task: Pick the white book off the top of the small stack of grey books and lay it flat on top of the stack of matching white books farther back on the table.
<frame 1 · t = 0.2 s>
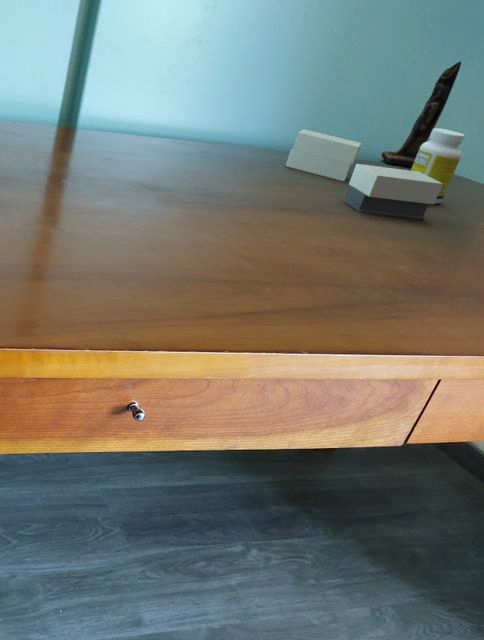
white stack: (316, 171, 127), on the table
pill bottle: (419, 199, 121), on the table
statue: (399, 165, 145), on the table
white book: (390, 194, 103), point 4 cm above the table, touching grey stack
grey stack: (379, 221, 105), on the table
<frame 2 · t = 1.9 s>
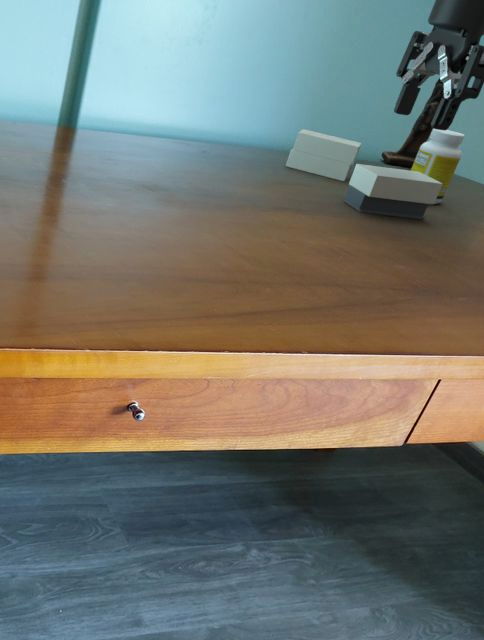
hand: (418, 121, 98), 14 cm above the table, tool pointing down, fingers open, 8 cm apart
nothing on the table moved.
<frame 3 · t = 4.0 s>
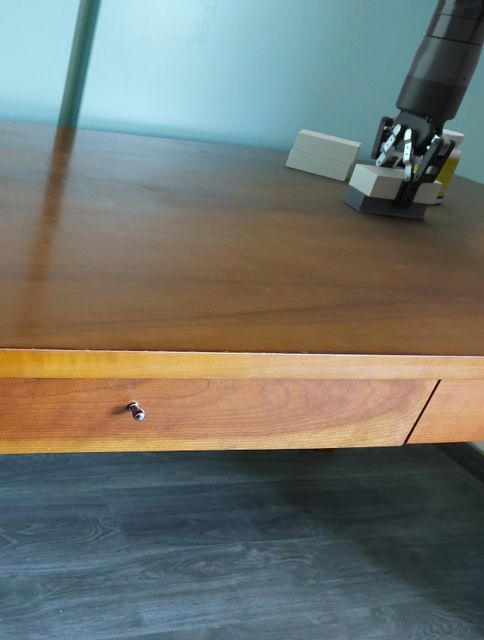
hand: (387, 200, 103), 3 cm above the table, tool pointing down, fingers closed on white book, 5 cm apart
white book: (390, 194, 103), point 4 cm above the table, touching grey stack, gripper
everything else where it was.
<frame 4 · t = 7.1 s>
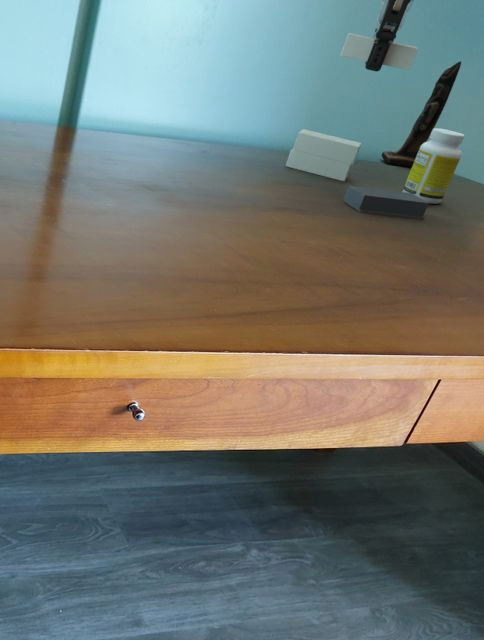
hand: (371, 68, 112), 18 cm above the table, tool pointing down, fingers closed on white book, 5 cm apart
white book: (374, 61, 111), point 19 cm above the table, touching gripper
everything else where it was.
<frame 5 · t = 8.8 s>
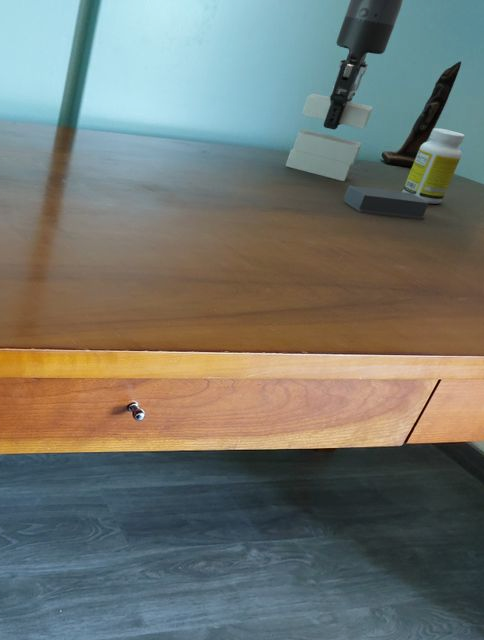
hand: (332, 125, 123), 8 cm above the table, tool pointing down, fingers closed on white book, 5 cm apart
white book: (334, 119, 123), point 9 cm above the table, touching gripper
everything else where it was.
when the fingers open (5 cm above the table, at t = 10.2 s): white book stays where it is, resting on white stack.
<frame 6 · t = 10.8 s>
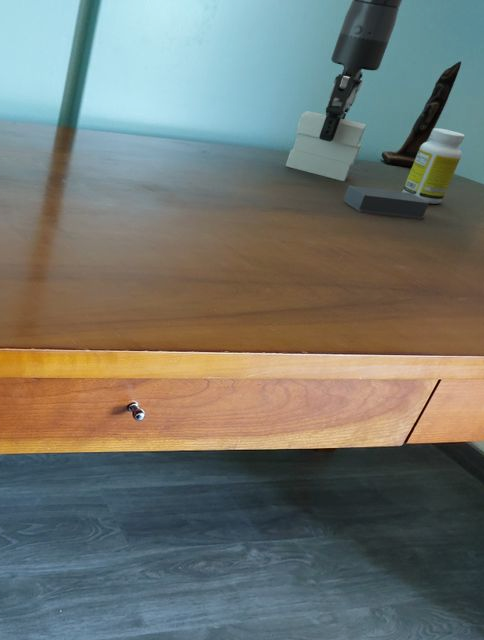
hand: (328, 136, 124), 6 cm above the table, tool pointing down, fingers open, 8 cm apart
white book: (328, 137, 124), point 6 cm above the table, touching white stack
everything else where it was.
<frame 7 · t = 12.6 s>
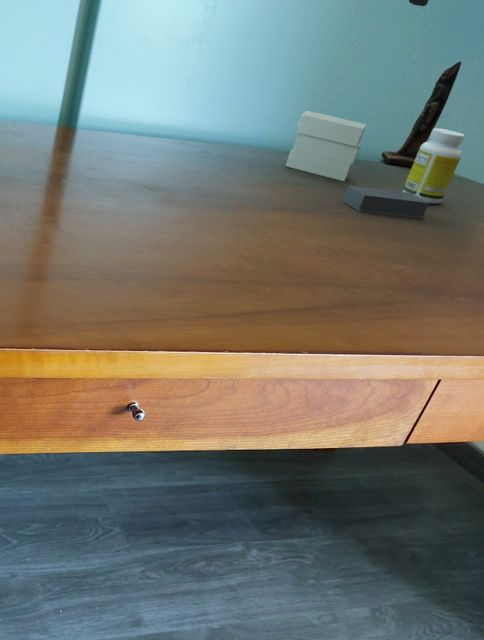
hand: (417, 4, 108), 28 cm above the table, tool pointing down, fingers open, 8 cm apart
nothing on the table moved.
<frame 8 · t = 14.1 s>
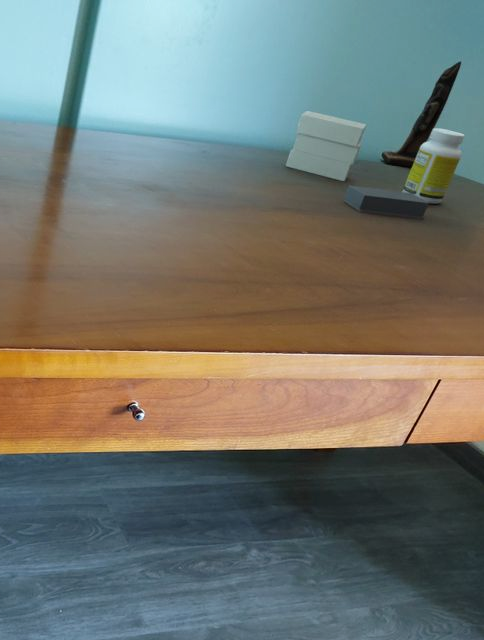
nothing on the table moved.
at the end: white book 0.1 cm off-centre on the white stack, point 6.0 cm above the white stack's base; white book tilted 0°; the gripper is holding nothing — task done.
